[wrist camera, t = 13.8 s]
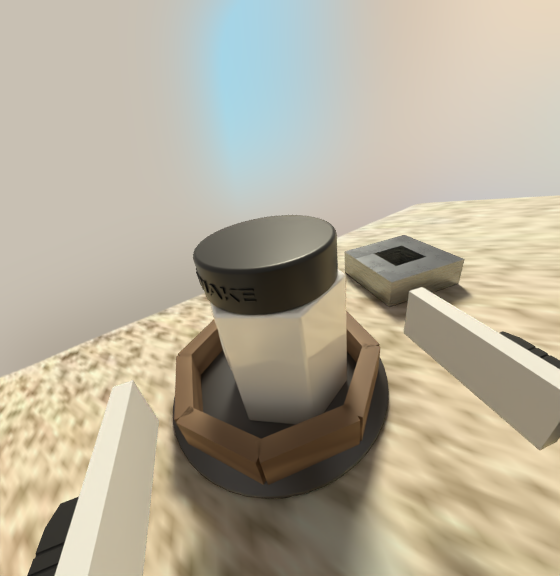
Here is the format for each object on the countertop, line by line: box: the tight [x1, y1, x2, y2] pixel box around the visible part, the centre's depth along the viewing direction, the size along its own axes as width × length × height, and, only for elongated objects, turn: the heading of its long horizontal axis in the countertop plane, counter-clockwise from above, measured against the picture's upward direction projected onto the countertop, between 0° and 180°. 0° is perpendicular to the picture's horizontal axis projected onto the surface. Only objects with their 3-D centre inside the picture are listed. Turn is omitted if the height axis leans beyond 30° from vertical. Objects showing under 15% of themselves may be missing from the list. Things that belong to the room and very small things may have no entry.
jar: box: [193, 215, 347, 424], centre depth 18 cm, size 9×8×12 cm
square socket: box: [345, 235, 464, 307], centre depth 31 cm, size 9×9×3 cm
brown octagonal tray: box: [173, 311, 388, 499], centre depth 21 cm, size 17×17×3 cm
